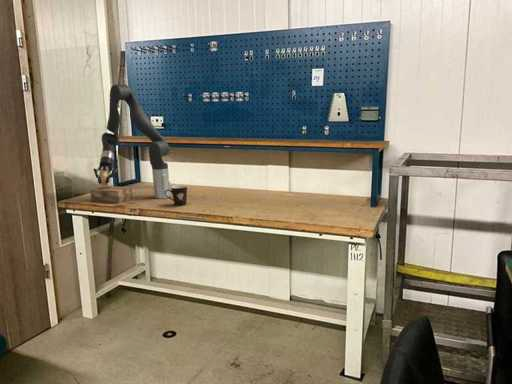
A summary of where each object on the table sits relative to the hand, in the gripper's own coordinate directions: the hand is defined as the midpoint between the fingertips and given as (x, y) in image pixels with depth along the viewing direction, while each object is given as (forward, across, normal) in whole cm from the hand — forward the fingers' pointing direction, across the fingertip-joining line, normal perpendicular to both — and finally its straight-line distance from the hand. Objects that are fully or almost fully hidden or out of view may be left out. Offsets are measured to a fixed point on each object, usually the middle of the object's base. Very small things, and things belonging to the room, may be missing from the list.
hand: (103, 182), depth 241 cm
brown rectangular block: (+7, +4, +8) cm, 11 cm away
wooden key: (+4, 0, +7) cm, 8 cm away
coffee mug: (+22, +45, -7) cm, 50 cm away
